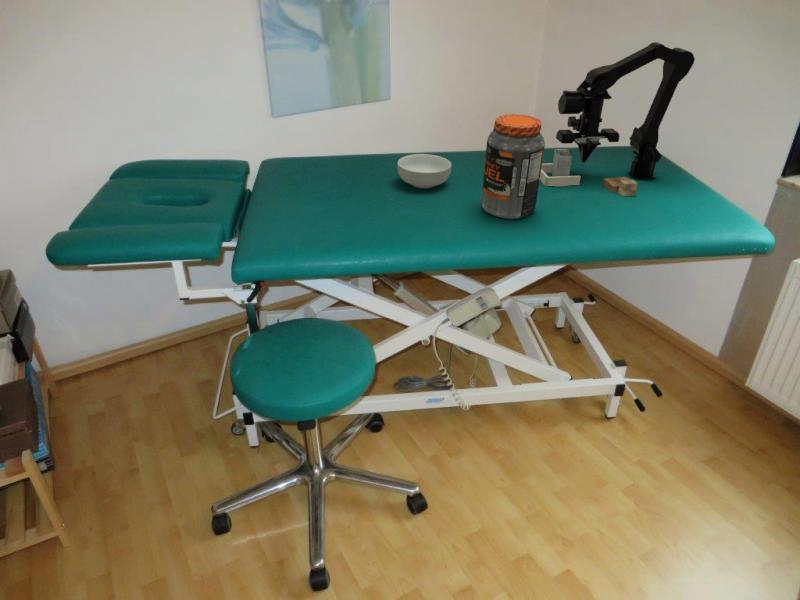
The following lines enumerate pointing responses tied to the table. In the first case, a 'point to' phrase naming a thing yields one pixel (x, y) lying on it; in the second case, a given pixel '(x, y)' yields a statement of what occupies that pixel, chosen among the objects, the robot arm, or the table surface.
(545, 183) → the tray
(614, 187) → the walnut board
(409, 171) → the cereal bowl
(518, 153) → the supplement tub
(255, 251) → the table surface
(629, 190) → the beech block
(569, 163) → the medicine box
